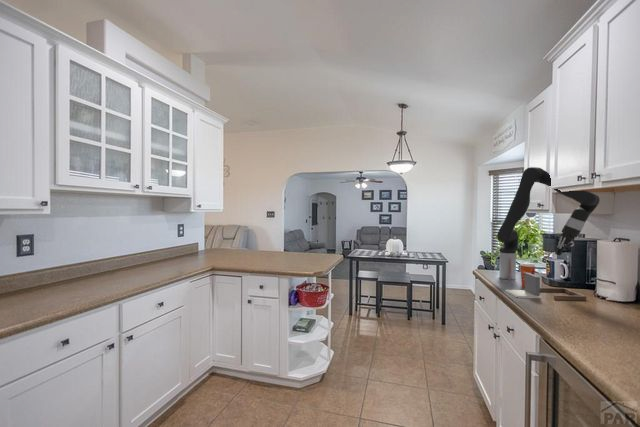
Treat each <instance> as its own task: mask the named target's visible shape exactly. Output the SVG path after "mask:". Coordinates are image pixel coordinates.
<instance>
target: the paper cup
mask: <svg viewBox="0 0 640 427" xmlns="http://www.w3.org/2000/svg"><path fill="white" fill-rule="evenodd" d="M519 265H520V278H521V287H523V288H525V273H530V274H533V275H535V270H536V269H535V268H536V265H535V263H534V262H525V261H524V262H520V264H519Z"/></svg>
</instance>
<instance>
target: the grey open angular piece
mask: <svg viewBox="0 0 640 427" xmlns="http://www.w3.org/2000/svg"><path fill="white" fill-rule="evenodd" d="M540 288H541V277H540V276H538V275H536V274H534V275H533V274H530V273H525V287H524V289H505V290H504V292H505V293H507V294H509V295H510V294H511V296H512V295H513V296H512V297H514V296H515V297H514V298H516V297H518V298H517V299H541V298H542V296H541V292H540Z"/></svg>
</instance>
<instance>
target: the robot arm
mask: <svg viewBox="0 0 640 427" xmlns="http://www.w3.org/2000/svg"><path fill="white" fill-rule="evenodd" d="M549 174H550V172H548V171H546V170H544V169H543V168H541V167H537V166H536V167H535V166H531V167H530V166H529V167H528V168H526V169H524V171H523V172H522V176H521V178H520V182H519V185H518V187H517V191H516V192H515V195H514V197H513V200H512V202H511V204H510V206H509V209H508V211H507V213H506V216H505V219H504V221H503V222H502V224H501V226H500V227H499V230H498V231H497V235H496V238H497V240H498V241H499V242H500V243H503V244H502V246H500V247H499V264H498V265H499V268H498V269H499V273H498V274H499V278H500V279H504V280H514V281H515V280H517V279H516V276H517V275H516V274H517V272H516V271H517V269H516V268H517V259H516V258H517V250H518V243H519V242H518V241H519V234H518V231H517V230H516V229H514V228H515V226H516V225H517V224H518V222H519V221H520V220H522V218H523V217H525V214H526V213H527V212H528V209H529V206H530V203H531V192H532V188H533V186H534V185H535V183H539V184H541V185H545V186H547V187H549V186H551V178H550V175H549ZM553 190H554V191H556V192H557V194H560V195H562V196H565V197H567V198H569V199H572V200H574V201H575V202H577V203H579V205H578V207H577V208H575V209H573V212H572V213H571V215H570V217H569V218H568V219H567V220H566V223H565V224H564V226H563V227H562V230H561V233H560V235H559V236H558V235H556V236H555V246H556V247H557V248H556V250H555V253H554V254H555V255H557V256H562V253H563V252H564V251H569V250H570V249H572V248H574V247H575V246H576V244H575V243H574V241H575V238H578V237H579V236H580V233H581V232H582V230H583V228H584V226H585V224H586V221H587V220H588V218H589V216H590V215H591V214H592V213H593V212H594V210H595V209H596V208H597V207H598V205H599V203H600V200H601V199H600V196H598V195H597V194H595V193H593V192H591V191H588V190H586V191H569V192H561V191H560V190H558V189H553Z"/></svg>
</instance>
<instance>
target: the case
mask: <svg viewBox="0 0 640 427" xmlns="http://www.w3.org/2000/svg"><path fill="white" fill-rule="evenodd" d="M541 292H543V293H545V292H547V293H549V292H550V293H565V294H567V295H562V294H561V295H557V294H556V295H555V294H554V295H553V300H556V301H557V300H558V301H587V296H586V295H584V294H581V293H578V292H577V291H576V292H575V291H573V290H570V289H569V288H565V287H540V293H541Z"/></svg>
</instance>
